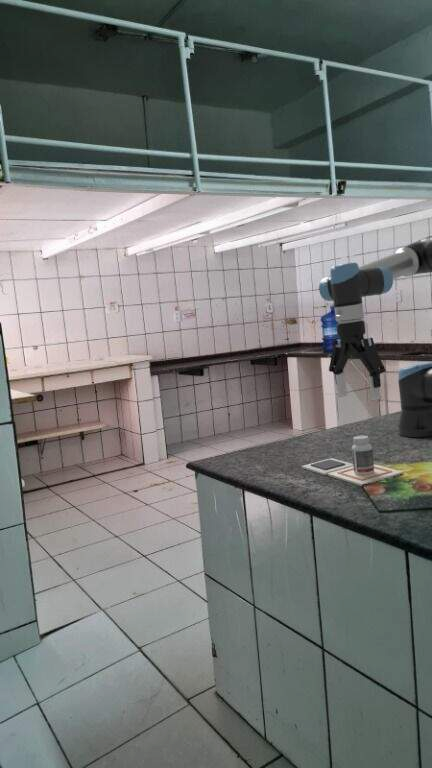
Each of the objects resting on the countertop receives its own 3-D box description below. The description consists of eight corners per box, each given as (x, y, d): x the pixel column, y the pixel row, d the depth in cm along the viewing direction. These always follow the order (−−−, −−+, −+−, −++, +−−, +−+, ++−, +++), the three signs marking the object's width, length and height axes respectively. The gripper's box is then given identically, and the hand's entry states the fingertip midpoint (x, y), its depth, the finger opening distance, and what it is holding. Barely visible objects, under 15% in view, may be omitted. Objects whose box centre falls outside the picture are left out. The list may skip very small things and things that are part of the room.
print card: (367, 464, 161) (367, 461, 161) (403, 473, 148) (403, 470, 148) (327, 475, 155) (327, 472, 155) (361, 486, 143) (361, 483, 142)
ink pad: (331, 460, 170) (331, 456, 170) (355, 466, 160) (355, 463, 160) (301, 468, 166) (301, 464, 166) (324, 475, 156) (323, 471, 156)
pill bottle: (378, 471, 151) (375, 436, 150) (365, 476, 148) (361, 440, 147) (363, 468, 155) (360, 433, 154) (349, 473, 153) (346, 438, 151)
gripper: (311, 325, 163) (320, 397, 165) (371, 320, 140) (380, 404, 143) (331, 321, 166) (340, 392, 169) (393, 316, 144) (402, 398, 146)
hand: (358, 398), depth 156 cm, fingers open, 13 cm apart
